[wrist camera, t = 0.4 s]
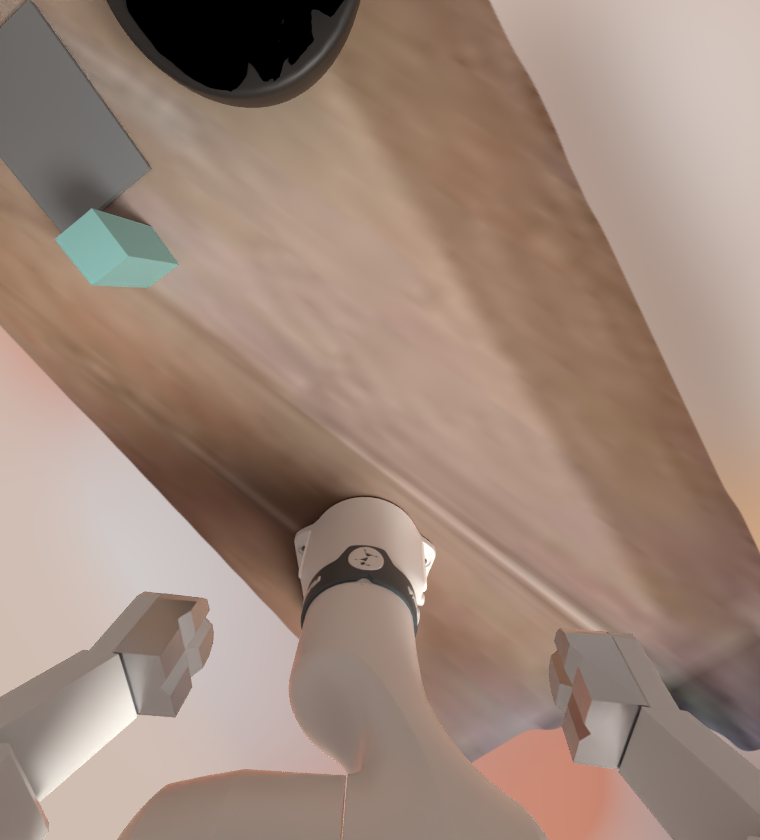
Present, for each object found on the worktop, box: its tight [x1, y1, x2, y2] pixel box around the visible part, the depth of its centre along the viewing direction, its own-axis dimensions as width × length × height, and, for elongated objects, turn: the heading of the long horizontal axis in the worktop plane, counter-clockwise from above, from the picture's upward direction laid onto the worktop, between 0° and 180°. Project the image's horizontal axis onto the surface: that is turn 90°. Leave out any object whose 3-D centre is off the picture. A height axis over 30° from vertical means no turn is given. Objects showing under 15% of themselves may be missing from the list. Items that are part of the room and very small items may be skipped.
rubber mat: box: [0, 0, 152, 233], centre depth 40 cm, size 16×12×1 cm
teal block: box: [55, 208, 179, 288], centre depth 39 cm, size 4×4×9 cm
